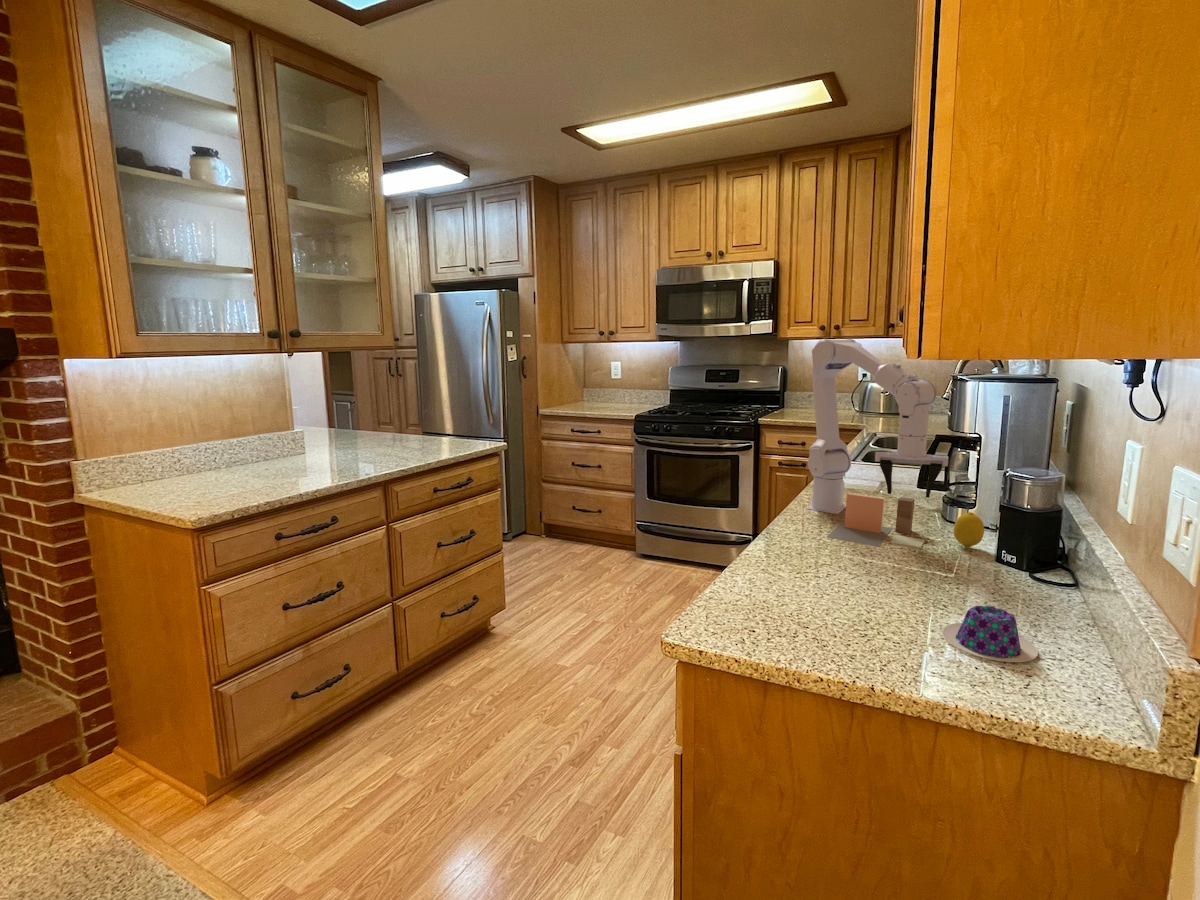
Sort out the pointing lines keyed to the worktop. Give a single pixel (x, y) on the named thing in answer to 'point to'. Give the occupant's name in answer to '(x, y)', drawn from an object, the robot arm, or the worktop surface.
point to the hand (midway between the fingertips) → (908, 494)
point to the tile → (864, 512)
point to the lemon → (968, 530)
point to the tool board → (907, 541)
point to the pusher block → (904, 515)
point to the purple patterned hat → (990, 635)
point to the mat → (859, 535)
